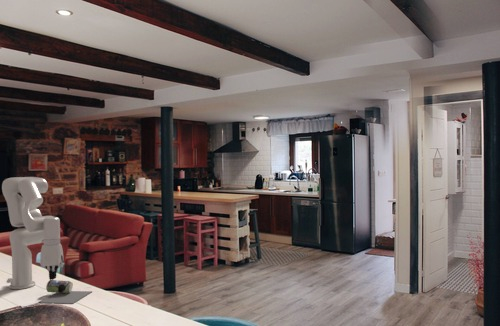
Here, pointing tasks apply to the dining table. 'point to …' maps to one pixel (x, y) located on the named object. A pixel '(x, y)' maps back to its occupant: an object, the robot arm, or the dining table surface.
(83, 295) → the rubber mat
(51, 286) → the beverage can
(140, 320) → the dining table surface
